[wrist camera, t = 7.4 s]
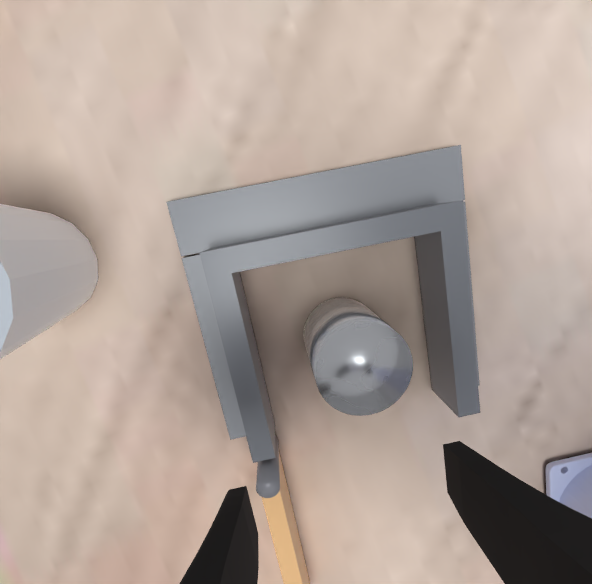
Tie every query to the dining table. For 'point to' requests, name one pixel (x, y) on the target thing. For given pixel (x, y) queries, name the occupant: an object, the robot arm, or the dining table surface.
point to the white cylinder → (40, 273)
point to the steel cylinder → (356, 357)
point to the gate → (281, 519)
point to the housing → (324, 240)
